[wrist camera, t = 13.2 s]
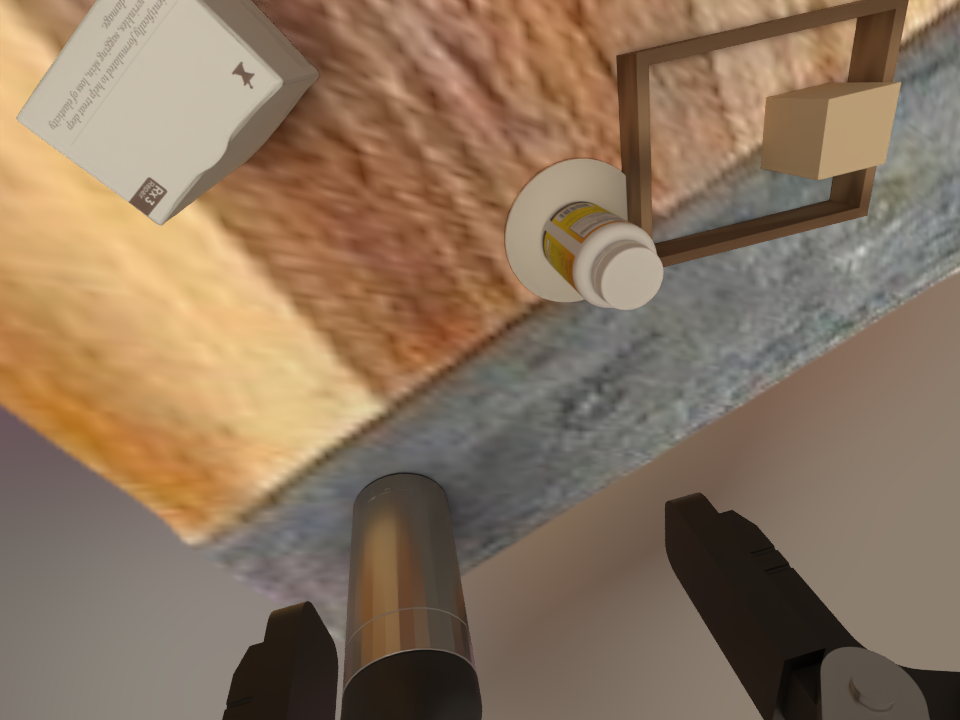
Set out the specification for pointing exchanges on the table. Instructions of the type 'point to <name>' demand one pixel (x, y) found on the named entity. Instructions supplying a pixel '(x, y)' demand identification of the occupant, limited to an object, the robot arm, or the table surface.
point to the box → (829, 128)
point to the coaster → (541, 202)
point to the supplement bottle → (602, 256)
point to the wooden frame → (869, 61)
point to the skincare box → (167, 96)
